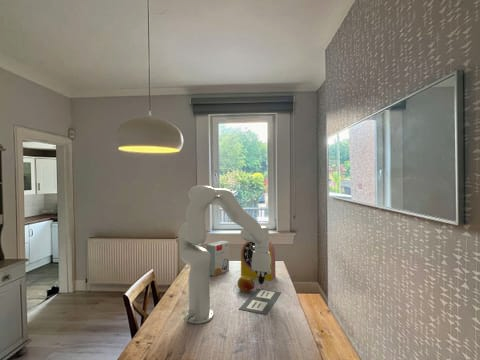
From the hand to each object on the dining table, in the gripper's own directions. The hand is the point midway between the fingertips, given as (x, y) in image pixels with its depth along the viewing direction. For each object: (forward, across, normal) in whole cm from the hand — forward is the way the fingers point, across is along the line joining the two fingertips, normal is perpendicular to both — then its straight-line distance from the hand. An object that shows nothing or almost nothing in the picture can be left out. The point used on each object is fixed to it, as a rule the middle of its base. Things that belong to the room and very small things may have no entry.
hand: (261, 283), depth 140 cm
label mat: (+6, +2, -6) cm, 9 cm away
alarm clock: (+6, -11, +26) cm, 29 cm away
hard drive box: (+7, -39, +23) cm, 46 cm away
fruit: (+7, -10, +2) cm, 12 cm away
